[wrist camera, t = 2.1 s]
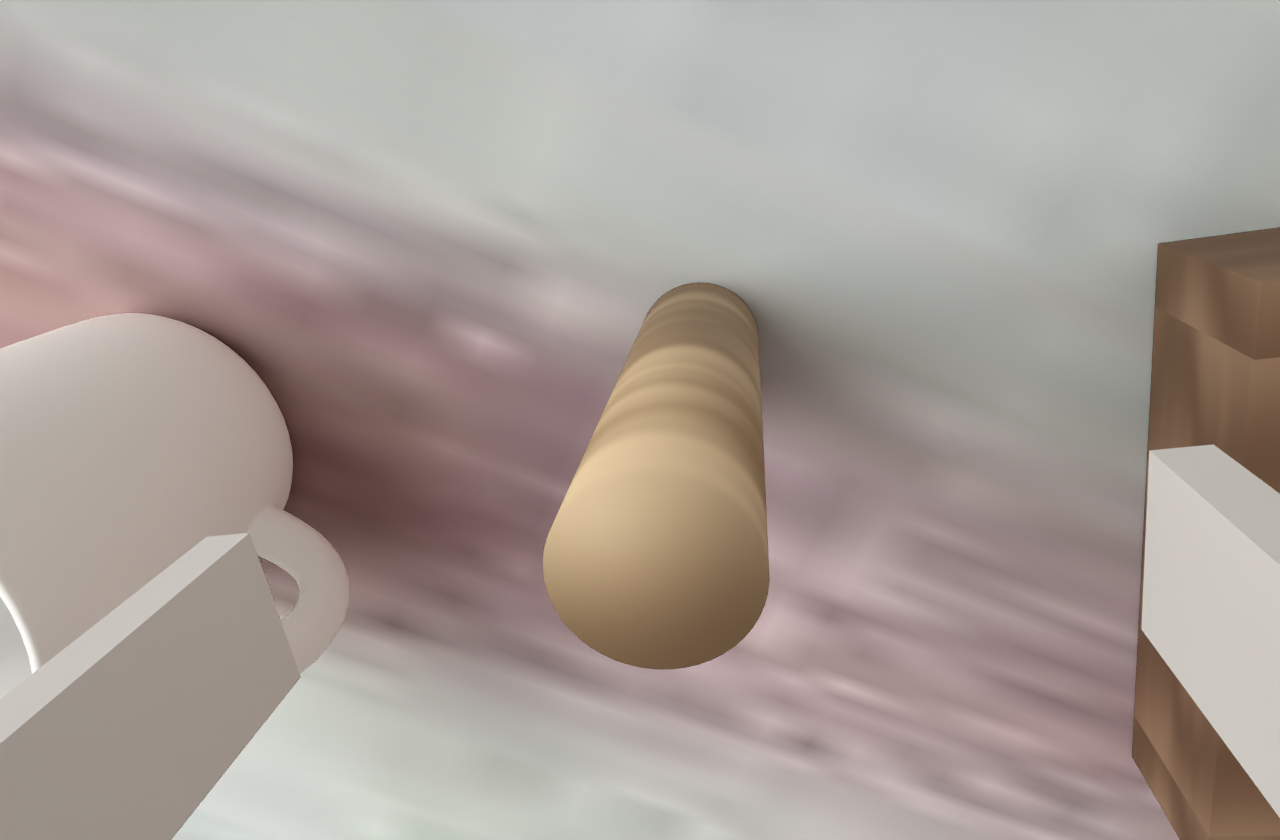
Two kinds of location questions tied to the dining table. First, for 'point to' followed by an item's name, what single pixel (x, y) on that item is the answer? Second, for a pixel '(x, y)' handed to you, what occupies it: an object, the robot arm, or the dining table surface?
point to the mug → (140, 481)
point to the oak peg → (670, 494)
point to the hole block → (1255, 438)
